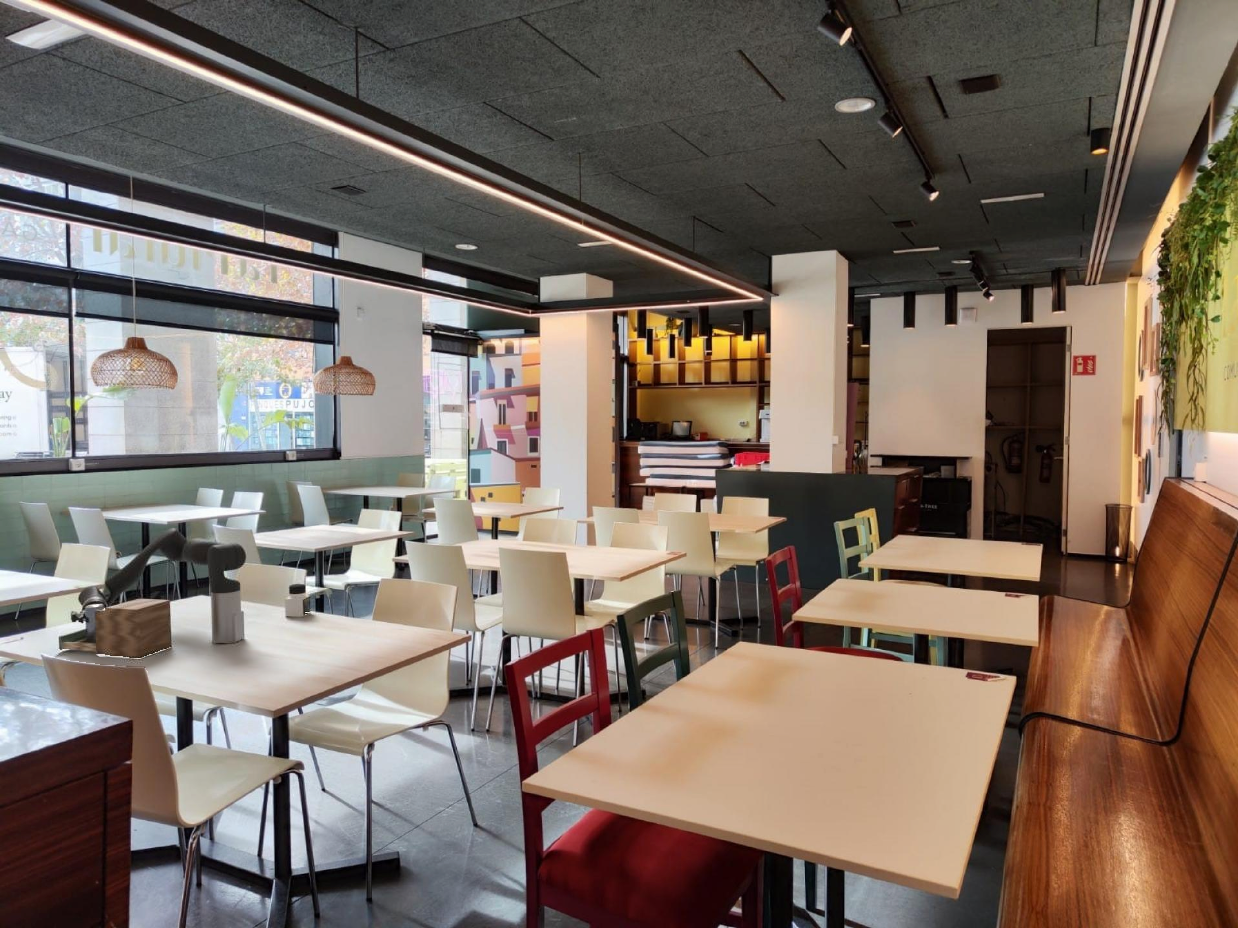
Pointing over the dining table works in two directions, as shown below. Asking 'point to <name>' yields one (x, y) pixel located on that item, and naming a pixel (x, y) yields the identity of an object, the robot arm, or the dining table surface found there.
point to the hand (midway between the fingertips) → (95, 618)
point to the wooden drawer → (76, 641)
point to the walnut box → (133, 628)
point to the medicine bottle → (297, 601)
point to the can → (91, 621)
